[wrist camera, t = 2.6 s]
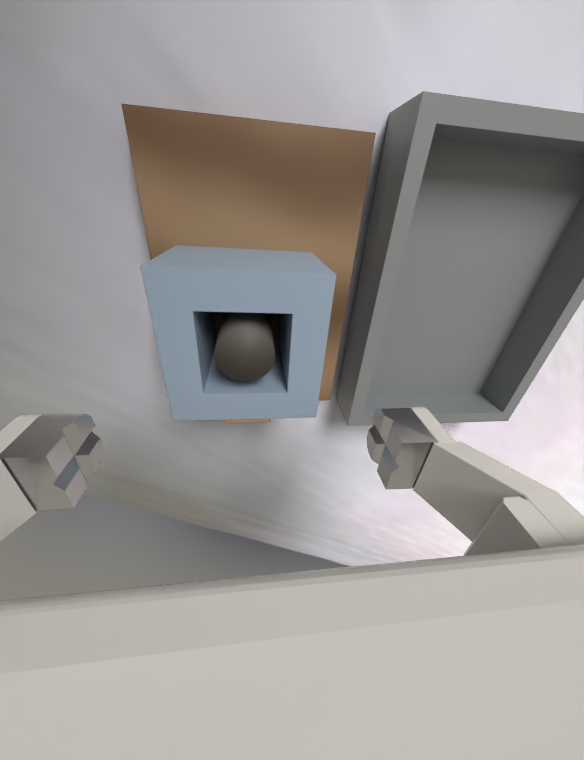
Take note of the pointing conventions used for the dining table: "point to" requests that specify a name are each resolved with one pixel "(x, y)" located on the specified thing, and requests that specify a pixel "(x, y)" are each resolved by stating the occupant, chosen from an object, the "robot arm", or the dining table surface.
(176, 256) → the collar
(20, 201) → the dining table surface
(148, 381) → the dining table surface
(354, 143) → the board
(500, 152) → the tray
